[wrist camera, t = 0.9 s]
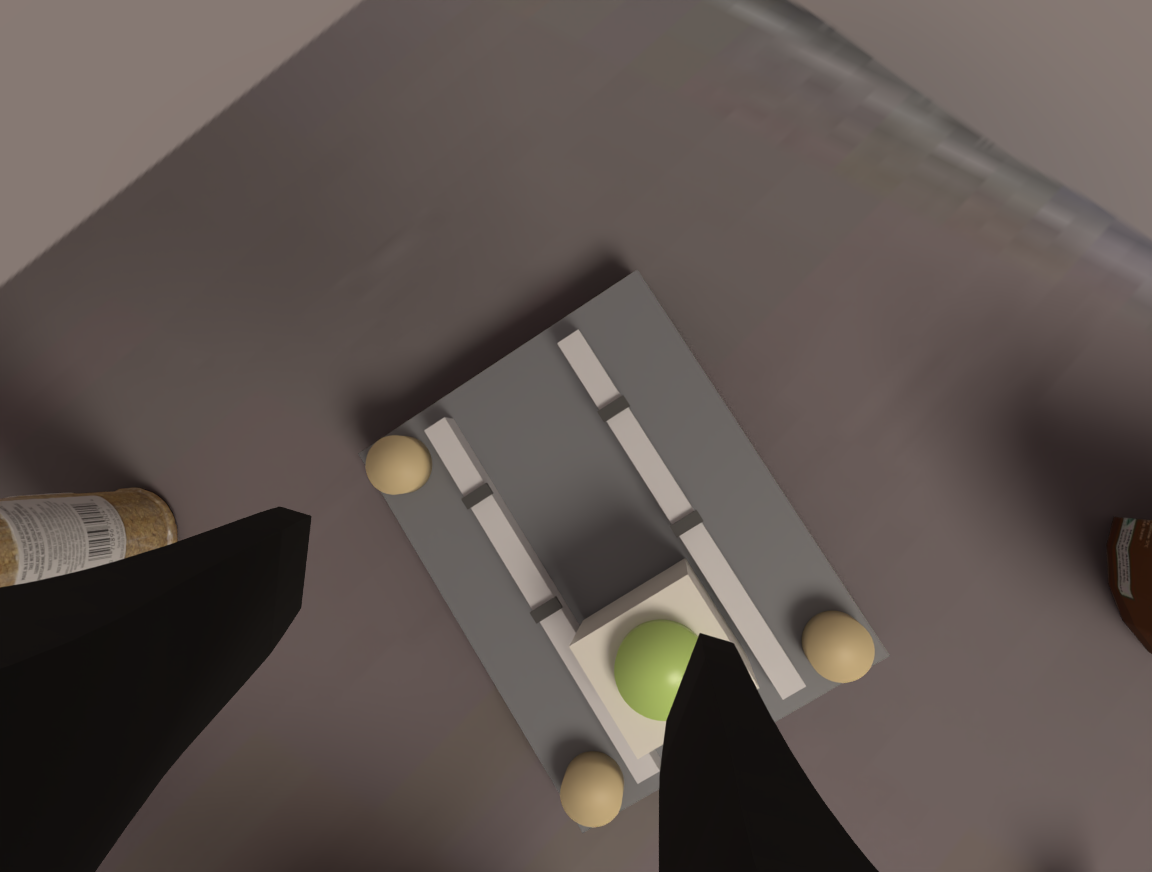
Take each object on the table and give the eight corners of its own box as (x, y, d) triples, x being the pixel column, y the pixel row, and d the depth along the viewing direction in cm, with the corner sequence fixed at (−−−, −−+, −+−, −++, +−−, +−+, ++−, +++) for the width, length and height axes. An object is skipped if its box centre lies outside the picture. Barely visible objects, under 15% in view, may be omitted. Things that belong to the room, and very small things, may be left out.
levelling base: (874, 642, 29) (901, 666, 26) (588, 808, 31) (578, 852, 27) (639, 281, 31) (635, 259, 28) (377, 453, 32) (343, 453, 29)
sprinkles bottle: (92, 490, 34) (-275, 512, 21) (180, 484, 34) (-140, 501, 20) (97, 587, 34) (-271, 670, 21) (185, 582, 34) (-135, 665, 20)
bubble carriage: (746, 655, 28) (761, 694, 23) (641, 717, 28) (636, 767, 24) (685, 557, 28) (687, 577, 24) (582, 620, 29) (566, 651, 24)
